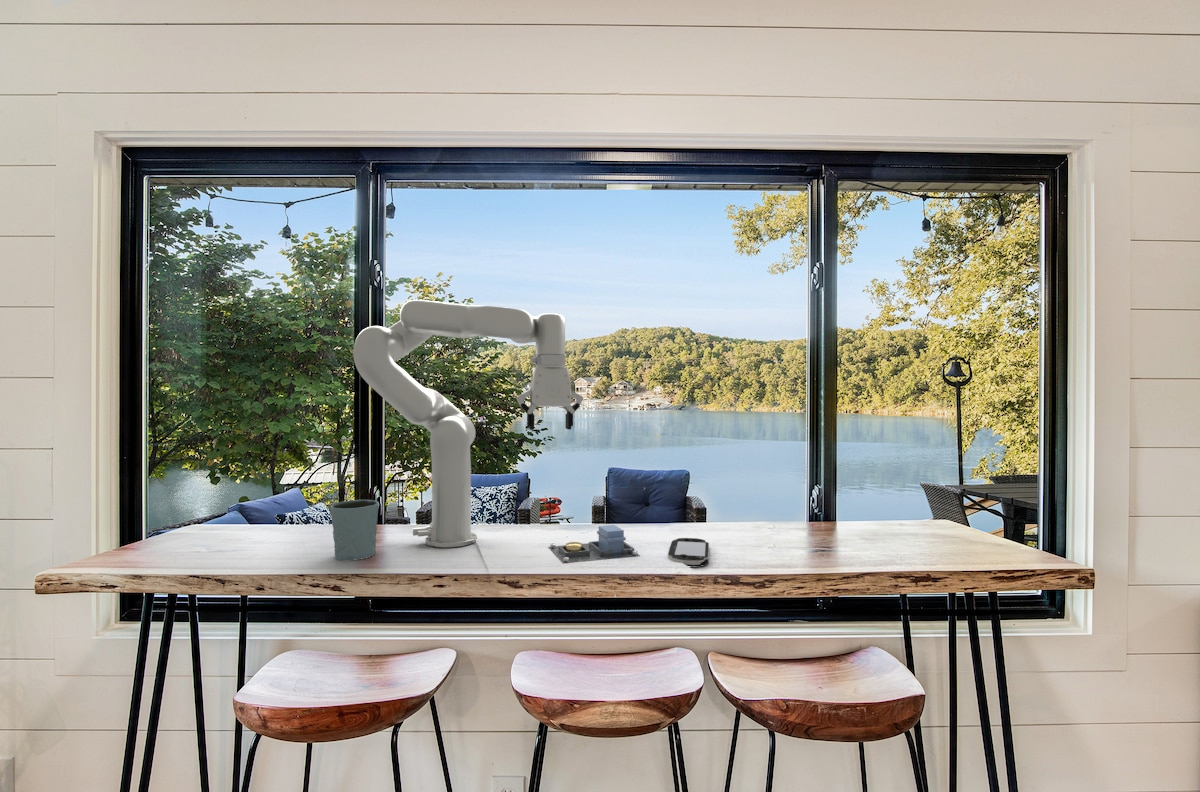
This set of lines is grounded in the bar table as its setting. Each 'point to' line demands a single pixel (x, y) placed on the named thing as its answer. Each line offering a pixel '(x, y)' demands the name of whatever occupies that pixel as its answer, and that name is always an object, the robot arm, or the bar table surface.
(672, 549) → the gaming console
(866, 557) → the bar table surface
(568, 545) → the bushing
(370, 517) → the grey-green cup
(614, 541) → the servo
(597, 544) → the plate
